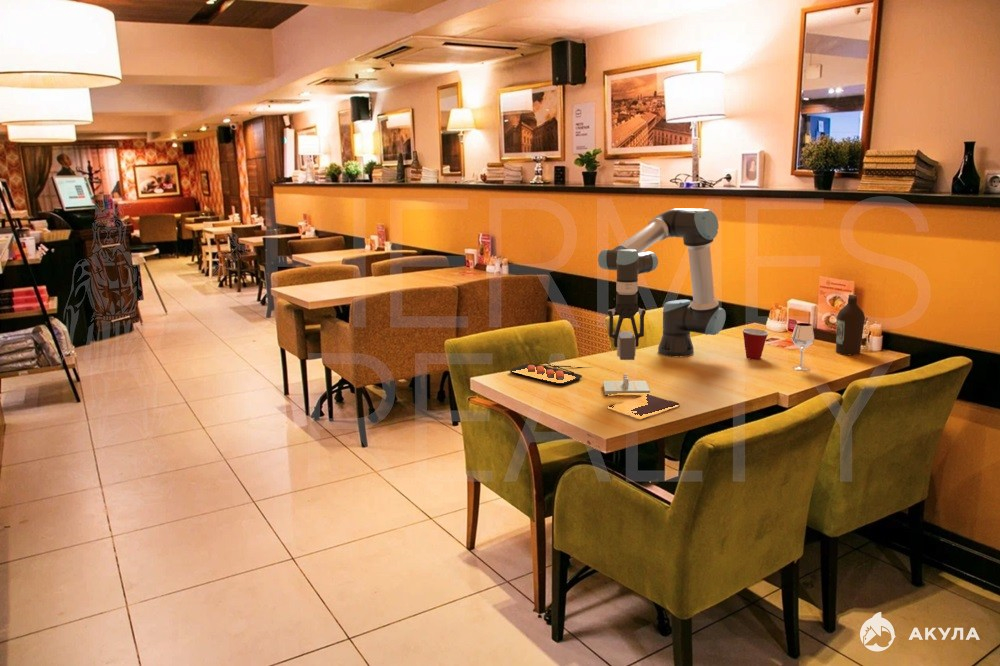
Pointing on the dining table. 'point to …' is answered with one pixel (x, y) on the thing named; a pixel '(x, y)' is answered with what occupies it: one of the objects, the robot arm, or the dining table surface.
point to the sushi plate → (549, 371)
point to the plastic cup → (754, 342)
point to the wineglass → (802, 340)
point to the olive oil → (850, 328)
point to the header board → (625, 386)
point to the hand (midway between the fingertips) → (626, 355)
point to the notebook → (653, 405)
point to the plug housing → (627, 345)
